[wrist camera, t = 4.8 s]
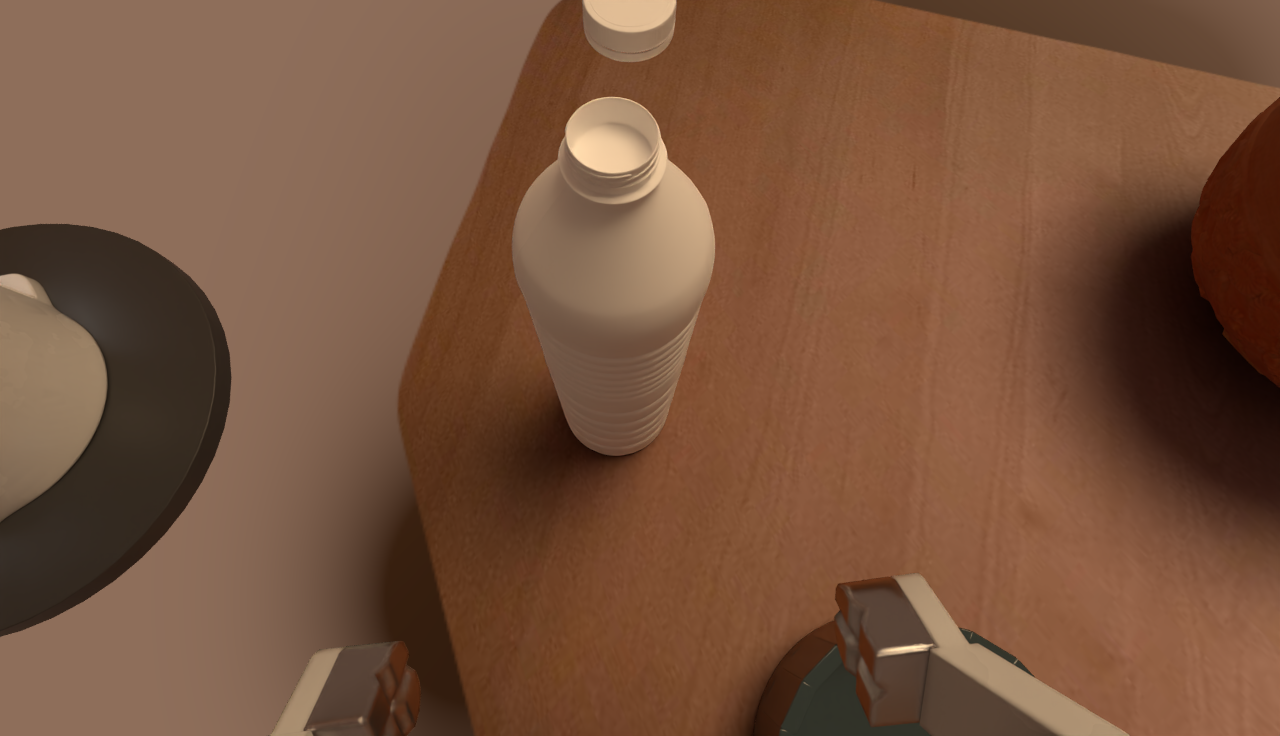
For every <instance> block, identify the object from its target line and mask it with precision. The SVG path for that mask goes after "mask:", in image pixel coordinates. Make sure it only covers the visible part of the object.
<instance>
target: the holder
mask: <svg viewBox="0 0 1280 736" xmlns="http://www.w3.org/2000/svg"><path fill="white" fill-rule="evenodd" d="M958 628H959V627H958ZM959 629H960V631H961V632H962V634H963V635H964V637H965V638H966V640H967V641H968V643H969V644H975V643H978V644H980V645H982V646H983V647H985V648H987V649H988V650H990V651H992V652H993V653H995V654H997V655H998V656H1000V657H1001V658H1003V659H1005V660H1006V661H1008V662H1010V663H1011V664H1013V665H1015V666H1016V667H1018V668H1020V669H1021V670H1023V671H1025V672H1026V673H1028V674H1030V675H1031V676H1033V675H1032V674H1031V673H1030V671H1029V670H1028V669H1027V668H1026V667H1025V666H1024V665H1023V664H1022V663H1021V662H1020V661H1019V660H1018V659H1017V658H1016V657H1014V656H1013V655H1011V654H1009V653H1008V652H1006V651H1004V650H1003V649H1001V648H999V647H998V646H996V645H994V644H993V643H991V642H989V641H988V640H986V639H984V638H983V637H981V636H979V635H978V634H976V633H975V632H973V631H970V630H967V629H963V628H959ZM1033 677H1034V676H1033ZM753 736H931V735H930V734H929V733H928V732H927V731H926V730H925V729H923V728H922V727H921V726H920V722H919V723H909V724H899V725H889V726H880V727H871V726H870V724H869V721H868V719H867V717H866V715H865V712H864V710H863V708H862V705H861V703H860V701H859V699H858V696H857V694H856V677H855V676H853V675H852V674H851V673H849V672H848V671H847V670H846V669H845V666H844V664H843V661H842V659H841V656H840V653H839V650H838V647H837V642H836V637H835V631H834V621H832V622H830V623H828V624H826V625H824V626H822V627H820V628H818V629H816V630H814V631H813V632H812V633H810V634H809V635H807V636H806V637H804V638H803V639H802V640H801V641H800V642H798V643H797V644H796V645H795V646H794V647H793V648H792V649H791V650H790V651H789V652H788V653H787V655H786V656H785V657H784V659H783V660H782V661H781V662H780V664H779V665H778V666H777V668H776V670H775V671H774V673H773V675H772V677H771V678H770V680H769V682H768V684H767V686H766V689H765V691H764V693H763V696H762V698H761V701H760V705H759V708H758V712H757V715H756V719H755V726H754V732H753Z"/></svg>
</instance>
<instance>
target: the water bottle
mask: <svg viewBox="0 0 1280 736" xmlns="http://www.w3.org/2000/svg"><path fill="white" fill-rule="evenodd" d="M676 4H677V0H582V6H583V24H584V32H585V36H586V38H587V40H588V42H589V43H590V45H591V46H592V47H593V48H594V49H595V50H596V51H597V52H599V53H600V54H602V55H604V56H606V57H608V58H610V59H613V60H617V61H622V62H638V61H643V60H647V59H650V58H652V57H655V56H656V55H658V54H660V53H661V52H662V51H663V50H665V48H666V47H667V46H668V45H669V43H670V42H671V40H672V37H673V33H674V25H675V14H676ZM597 42H598V43H597ZM661 43H662V44H661ZM658 45H659V46H658ZM603 46H604V47H603ZM656 46H657V47H656ZM605 47H606V48H605ZM607 48H609V49H612V50H615V51H612V50H609V49H607ZM649 49H651V50H649ZM646 50H649V51H646ZM618 51H619V52H618ZM642 51H645V52H642ZM620 52H627V53H620ZM634 52H636V53H634ZM639 52H641V53H639ZM629 53H632V54H629ZM565 133H566V134H565V137H564V138H563V140H562V142H561V145H560V148H559V152H558V160H557V161H555V162H554V163H553V164H551V165H550V166H549V167H548V168H547V169H546V170H544V171H543V172H542V173H541V174H540V175H539V176H538V178H537V179H536V180H535V181H534V182H533V184H532V185H531V186H530V188H529V189H528V191H527V192H526V194H525V196H524V198H523V200H522V202H521V204H520V207H519V209H518V212H517V215H516V219H515V223H514V228H513V236H512V257H513V264H514V271H515V276H516V280H517V283H518V285H519V287H520V289H521V292H522V294H523V296H524V298H525V300H526V304H527V307H528V309H529V311H530V316H531V318H532V320H533V325H534V327H535V329H536V333H537V335H538V338H539V341H540V343H541V347H542V350H543V352H544V357H545V361H546V364H547V366H548V368H549V370H550V375H551V378H552V380H553V382H554V386H555V389H556V391H557V393H558V398H559V400H560V402H561V406H562V409H563V411H564V415H565V417H566V420H567V422H568V425H569V427H570V429H571V431H572V432H573V434H574V435H575V436H576V438H577V439H578V440H579V441H580V442H581V443H583V444H584V445H585V446H586V447H588V448H590V449H592V450H594V451H596V452H598V453H601V454H605V455H612V456H620V455H626V454H631V453H634V452H637V451H639V450H641V449H643V448H644V447H646V446H647V445H649V444H650V443H651V442H652V441H653V440H654V439H655V438H656V437H657V436H658V434H659V433H660V431H661V430H662V428H663V426H664V424H665V421H666V418H667V415H668V411H669V408H670V405H671V401H672V398H673V395H674V392H675V389H676V386H677V382H678V379H679V376H680V373H681V369H682V367H683V364H684V361H685V357H686V352H687V348H688V345H689V342H690V339H691V335H692V332H693V329H694V326H695V323H696V319H697V316H698V313H699V310H700V307H701V303H702V300H703V298H704V296H705V293H706V291H707V288H708V285H709V282H710V278H711V275H712V270H713V265H714V258H715V237H714V230H713V225H712V221H711V217H710V213H709V210H708V206H707V204H706V202H705V200H704V199H703V197H702V195H701V194H700V192H699V191H698V189H697V188H696V186H695V185H694V184H693V182H692V181H691V180H690V179H689V178H688V177H687V176H686V175H685V174H684V173H683V172H682V171H681V170H680V169H679V168H678V167H677V166H675V165H674V164H673V163H672V162H670V161H669V160H668V159H667V151H666V147H665V145H664V142H663V140H662V139H661V134H660V130H659V127H658V124H657V122H656V121H655V119H654V117H653V116H652V115H651V113H650V112H649V111H648V110H647V109H645V108H644V107H643V106H641V105H640V104H638V103H636V102H634V101H631V100H629V99H625V98H620V97H604V98H599V99H595V100H592V101H590V102H588V103H586V104H584V105H583V106H581V107H580V108H579V109H577V110H576V111H575V112H574V114H573V115H572V116H571V118H570V119H569V121H568V123H567V125H566V128H565Z"/></svg>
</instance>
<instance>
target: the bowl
mask: <svg viewBox="0 0 1280 736" xmlns="http://www.w3.org/2000/svg"><path fill="white" fill-rule="evenodd" d="M1207 180H1208V181H1207V182H1206V184H1205V186H1204V188H1203V191H1202V194H1201V198H1200V202H1199V204H1200V206H1199V207H1198V209H1197V211H1196V214H1195V216H1194V219H1193V221H1192V231H1191V243H1192V247H1193V251H1192V254H1191V260H1192V267H1193V273H1194V277H1195V282H1196V283H1197V284H1198V285H1199V290H1200V296H1201V297H1203V298H1205V299H1206V300H1208V301H1209V302H1210V304H1211V306H1212V308H1213V310H1214V312H1215V315H1216V318H1217V320H1218V321H1219V322H1220V323H1221V325H1222V326H1223V327H1224V331H1223V334H1222V335H1223V336H1224V337H1225V338H1226V339H1227V340H1228V341H1229V342H1230V343H1231V344H1232V346H1233V347H1234V348H1235V349H1236V350H1237V351H1238V352H1239V353H1240V354H1241V355H1242V356H1243V357H1244V358H1245V359H1246V360H1247V361H1248V362H1249V363H1250V364H1251V365H1252V366H1253V367H1254V368H1255V369H1256V370H1257V371H1258V372H1259V373H1261V374H1262V375H1264V376H1266V377H1267V378H1268V379H1269V380H1271V381H1272V382H1273V383H1274V384H1276V385H1277V386H1278V387H1279V388H1280V97H1279V98H1278V99H1277V100H1276V101H1275V102H1274V103H1273V104H1271V105H1270V106H1269V107H1268V108H1267V109H1266V110H1265V111H1264V112H1262V113H1260V114H1259V115H1258V116H1257V117H1256V118H1255V119H1254V120H1253V121H1252V122H1251V123H1250V124H1249V125H1248V126H1247V127H1246V129H1245V130H1244V131H1243V132H1242V133H1241V135H1240V136H1239V137H1238V138H1237V139H1236V140H1235V142H1234V143H1233V144H1232V145H1231V146H1230V148H1229V149H1228V150H1227V151H1226V152H1225V154H1224V155H1223V156H1222V157H1221V158H1220V160H1219V162H1218V163H1217V165H1216V167H1215V169H1214V170H1213V172H1212V174H1211V175H1210V177H1209V178H1208V179H1207Z"/></svg>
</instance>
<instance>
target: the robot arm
mask: <svg viewBox="0 0 1280 736" xmlns="http://www.w3.org/2000/svg"><path fill="white" fill-rule="evenodd" d="M107 387H108V379H107V369H106V364H105V360H104V357H103V354H102V352H101V350H100V348H99V346H98V344H97V342H96V341H95V339H94V338H93V337H92V336H91V334H90V333H89V332H88V331H87V330H86V329H85V328H84V327H82V326H81V325H80V324H79V323H77V322H76V321H74V320H72V319H71V318H69V317H67V316H66V315H64V314H62V313H61V312H59V311H58V310H57V309H56V308H55V307H53V305H52V303H51V301H50V299H49V297H48V295H47V293H46V291H45V290H44V288H43V287H42V286H41V284H40V283H39V282H37V281H36V280H34V279H31V278H28V277H26V276H23V275H20V274H7V275H2V276H0V522H2V521H3V520H4V519H5V518H7V517H8V516H10V515H11V514H13V513H14V512H16V511H17V510H19V509H21V508H22V507H24V506H25V505H27V504H29V503H30V502H32V501H33V500H35V499H36V498H38V497H39V496H40V495H42V494H43V493H44V492H46V491H47V490H48V489H50V488H51V487H52V486H53V485H54V484H55V483H56V482H58V481H59V480H60V479H61V478H62V477H63V476H64V475H65V474H66V473H67V472H68V471H69V469H70V468H71V467H72V466H73V465H74V464H75V462H76V461H77V460H78V459H79V457H80V456H81V455H82V453H83V452H84V450H85V449H86V447H87V446H88V444H89V443H90V441H91V439H92V437H93V435H94V433H95V431H96V429H97V427H98V425H99V422H100V420H101V417H102V414H103V411H104V407H105V403H106V397H107ZM835 600H836V602H837V604H838V606H839V608H840V611H839V612H838V613H837V614H836V615H835V617H834V631H835V637H836V642H837V647H838V650H839V653H840V656H841V659H842V661H843V664H844V666H845V669H846V670H847V671H848V672H849V673H851V674H852V675H853V676H855V677H856V694H857V696H858V699H859V701H860V703H861V705H862V708H863V710H864V712H865V715H866V717H867V719H868V721H869V724H870V726H871V727H880V726H889V725H899V724H909V723H919V722H920V726H921V727H922V728H923V729H925V730H926V731H927V732H928V733H929V734H930V735H931V736H1130V735H1129V734H1127V733H1126V732H1124V731H1122V730H1121V729H1119V728H1117V727H1116V726H1114V725H1112V724H1111V723H1109V722H1107V721H1106V720H1104V719H1103V718H1101V717H1099V716H1098V715H1096V714H1094V713H1093V712H1091V711H1089V710H1088V709H1086V708H1084V707H1083V706H1081V705H1079V704H1078V703H1076V702H1074V701H1073V700H1071V699H1069V698H1068V697H1066V696H1064V695H1063V694H1061V693H1059V692H1058V691H1056V690H1054V689H1053V688H1051V687H1050V686H1048V685H1046V684H1045V683H1043V682H1041V681H1040V680H1038V679H1036V678H1035V677H1033V676H1031V675H1030V674H1028V673H1026V672H1025V671H1023V670H1021V669H1020V668H1018V667H1016V666H1015V665H1013V664H1011V663H1010V662H1008V661H1006V660H1005V659H1003V658H1001V657H1000V656H998V655H997V654H995V653H993V652H992V651H990V650H988V649H987V648H985V647H983V646H982V645H980V644H978V643H975V644H969V643H968V641H967V640H966V638H965V637H964V635H963V634H962V632H961V631H960V629H959V628H958V627H957V625H956V624H955V622H954V621H953V619H952V618H951V616H950V615H949V614H948V612H947V611H946V609H945V608H944V606H943V605H942V603H941V602H940V600H939V599H938V598H937V596H936V595H935V593H934V592H933V590H932V589H931V587H930V586H929V584H928V583H927V582H926V580H925V579H924V577H923V576H922V575H920V574H919V573H913V574H905V575H898V576H891V577H882V578H875V579H868V580H861V581H854V582H846V583H839V584H838V585H837V587H836V594H835ZM408 656H409V653H408V650H407V648H406V646H405V643H404V642H401V641H396V642H385V643H375V644H367V645H356V646H346V647H341V648H331V649H322V650H318V651H317V652H316V653H315V654H314V655H313V656H312V657H311V658H310V660H309V662H308V664H307V666H306V668H305V670H304V672H303V674H302V675H301V677H300V679H299V681H298V683H297V685H296V687H295V689H294V691H293V693H292V695H291V697H290V699H289V701H288V702H287V705H286V706H285V708H284V710H283V712H282V714H281V716H280V718H279V720H278V722H277V724H276V726H275V728H274V730H273V731H272V733H271V735H270V736H407V735H408V734H409V733H410V731H411V730H412V729H413V728H414V727H415V725H416V722H417V718H418V714H419V710H420V697H421V690H420V683H419V678H418V676H417V673H416V671H415V670H413V669H412V668H410V667H409V666H407V665H406V662H407V659H408Z"/></svg>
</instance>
